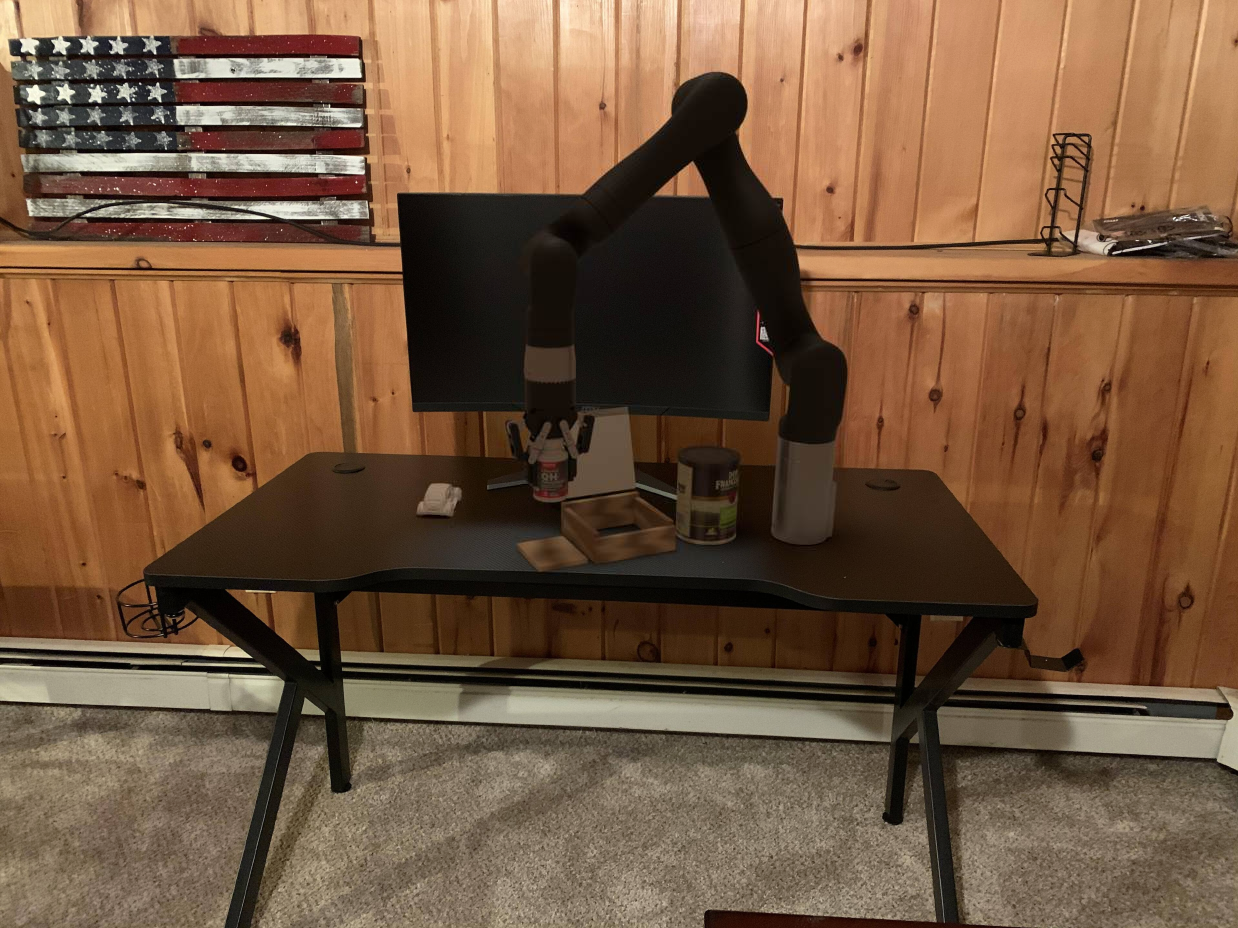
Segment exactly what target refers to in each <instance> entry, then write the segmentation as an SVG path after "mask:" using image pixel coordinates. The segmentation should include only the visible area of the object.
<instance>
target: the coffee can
mask: <svg viewBox="0 0 1238 928" xmlns="http://www.w3.org/2000/svg"><path fill="white" fill-rule="evenodd" d="M741 458H742V454H741V453H740V452H739V451H737V450H735V449H732V448H730V447H725V446H721V445H720V446H719V445H706V444H705V445H703V444H702V445H692V446H687V447H683V448H680V450H678V452H677V480H676V481H677V485H676V508H675V509H676V510H675V511H676V512H675V526H676V538H677V537H678V539H680V540H682V541H684V542H687V543H691V544H694V545H700V546H718V545H724V544H727V543H730V542H732V541H733V540H735V539H736V536H737V517H738V500H739V496H738V495H739V482H740V466H741V465H740V463H741Z"/></svg>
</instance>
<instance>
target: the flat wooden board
mask: <svg viewBox="0 0 1238 928" xmlns="http://www.w3.org/2000/svg"><path fill="white" fill-rule="evenodd" d="M515 547H516V550H518V551H519V552H520V554H521V555H522V556H523V557H524V558H525V559H526V560H527V561H528V562H529V563H530V564H531V565H532V566H533V567H534V568H535V569H536V571H537V572H539V573H541V572H542V573H543V572H546V571H551V570H552V571H553V570H557V569H558V570H559V569H563V568H568V567H575V566H579V565H584V564H585V565H586V564H588V561H589V559H588V557H587V556H586V555H585V554H584V553H583V552H582V551H581V550H580V549H578V548H577V547H576V546H575V545H574V544H573V543H572V542H571V541H570V540H568V539H567V538H566V537H565V536H564V535H558V536H554V537H547V538H542V539H536V540H531V541H523V542H518V543H516V546H515Z"/></svg>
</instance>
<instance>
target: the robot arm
mask: <svg viewBox="0 0 1238 928" xmlns="http://www.w3.org/2000/svg"><path fill="white" fill-rule="evenodd" d="M748 104H749V100H748V94H747V91H746V89H745V87H744V85H743V83H742V82H741V81H740V80H739V79H738V78H737V77H736V76H734V75H733V74H731V73H728V72H723V71H709V72H705V73H702V74H700V75H697V76H694V77H693V78H690V79H687V80H686V81H684V82H683V83H682V84H681V85H680V86H678V88H677V90H676V91H675V93H674V95H673V98H672V100H671V107H670V114H671V115H670V118H668V119H667V121H666V122H665V123H664V124H663V125H662V126H661V127H660V128H659V129H658V130H657V131H656V132H655V133H654V134H653V135H652V136H650V137H649V138H648V139H647V140H646V141H644V143H643V144H641V145H640V146H639V147H638V148H636V149H635V150H633V151H632V152H631V153H629V154H628V155H627V156H626V157H624V158H623V159H622V160H620V161H619V162H618V163H617V164H615V165H614V166H613V167H612V168H610V169H609V170H607V171H606V172H605V173H604V174H603V175H602V176H600V178H598V179H597V180H596V181H595V182H593V184H592V185H591V186H590V187H589V188H587V190H586V191H584V192H583V193H582V194H581V195H580V197H578V199H576V200H575V201H574V202H573V204H572V205H571V206H570V207H569V208H568V209H567V210H566V211H564V212H563V213H561V214H559V215H558V216H557V217H556V218H554V219H553V220H552V221H550V222H549V223H547V224H546V225H545V226H544V227H542V228H541V229H540V230H539V231H538V232H536V233H535V234H534V235H533V236H532V237H531V238H530V239H529V240H528V242H527V243H526V244H525V246H524V247H523V250H522V253H521V266H522V268H523V272H524V273H525V275H527V277H529V279H530V282H529V283H530V294H529V295H530V300H529V301H530V304H529V306H528V308H527V310H526V314H525V353H524V367H523V374H524V406H525V411H524V414H523V416H522V418H518V419H516V420H511V419H507V420H506V421H504V426H505V430H506V436H507V440H508V444H509V448H510V449H509V450H510V453H511V456H512V457H513V458H514V459H515V460H516V461H518V462H523V478H524V481H525V482H526V483H527V484H528V485H529V486H530V487H532V488H533V487H534V486H537V464H536V463H535V461H536V459H537V456H538V454H539V451H540V450H541V449H542V447H543V444H544V442H545V439H553V438H564V444H563V445H564V446H563V448H564V449H565V450H566V451H567V453H568V482H571V481H574V477H576V475H577V457H578V456H579V455H580V454H582V453H588V451H589V448H590V443H591V437H592V432H593V427H594V422H595V417H594V416H592V415H591V414H589V413H587V412H583V411H582V412H583V413H577V412H578V411H577V410H576V409H577V408H576V403H577V402H576V398H577V396H576V395H577V394H576V392H577V391H576V384H577V383H576V381H577V379H576V378H577V377H576V374H577V373H576V368H577V367H576V365H577V363H576V353H575V320H574V319H575V318H574V311H575V306H576V301H577V300H576V299H577V293H578V286H579V273H580V272H579V271H580V270H579V268H580V267H579V259H580V258H582V257H583V255H585V254H586V253H587V252H588V251H589V250H591V249H592V248H594V247H598V246H600V245H602V244H603V243H605V242H607V241H608V240H610V238H611V237H612V236H614V235H615V234H616V233H617V232H618V231H619V230H620V229H621V228H622V227H623V226H624V225H625V224H627V222H628V221H629V220H630V219H631V218H633V216H635V215H636V213H638V212H639V211H640V209H642V208H643V207H644V206H645V204H646V203H648V202H649V201H650V199H652V198H653V197H654V196H655V195H656V194H657V193H658V192H659V191H660V190H661V189H663V187H664V186H665V185H666V184H667V183H669V182H670V181H671V180H672V179H673V178H674V177H675V176H676V175H678V174H679V173H680V172H682V170H684V169H685V168H686V167H687V166H689V165H690V164H692V162H693V164H694V166H695V168H696V169H697V172H698V173H699V175H700V176H699V177H701V180H702V181H703V184H704V186H705V189H706V192H707V195H708V197H709V200H710V203H711V206H712V208H713V210H714V214H715V216H716V219H717V220H718V223H719V226H720V228H721V230H722V233H723V236H724V238H725V241H726V244H727V247H728V249H729V253H730V254H731V256H732V259H733V261H734V264H735V266H736V269H737V270H738V273H739V275H740V277H741V279H742V282H743V284H744V286H745V288H746V290H747V292H748V294H749V296H750V298H751V300H752V303H753V304H754V306H755V308H756V310H757V312H758V314H759V316H760V319H761V321H762V324H763V327H764V330H765V332H766V335H767V340H768V343H769V346H770V350H771V354H772V357H773V360H774V364H775V366H776V370H777V373H778V375H779V376H780V379H781V380H782V382H783V383H784V384H785V385H786V386H787V387H789V390H788V391H789V392H788V400H787V401H788V403H787V409H786V413H785V414H784V415H781V417H780V418H779V421H778V430H777V444H776V446H777V447H776V460H775V471H774V472H775V473H774V488H773V489H774V490H773V503H772V518H771V531H770V534H771V535H772V536H773V537H774V538H775V539H777V540H779V541H781V542H784V543H787V544H793V545H801V546H806V545H807V546H808V545H816V544H820V543H823V542H825V541H826V540H827V538H830V537H831V538H832V537H833V528H834V517H835V508H836V507H835V505H836V495H837V482H836V481H834V480H833V474H834V462H835V450H836V440H837V430H838V428H839V426H840V425H841V422H842V420H843V415H844V410H845V409H844V408H845V407H844V406H845V401H846V392H847V387H848V386H847V384H848V377H849V376H848V375H849V374H848V373H849V372H848V361H847V357H846V356H845V354H844V352H843V350H842V349H841V348H839V347H838V346H837V345H836V344H834V343H832V342H830V341H827V340H826V339H824V338H823V337H822V336H821V334H820V332H819V331H818V329H817V328H816V326H815V323H814V322H813V319H812V317H811V315H810V313H809V310H808V308H807V306H806V303H805V300H804V296H803V290H802V281H801V269H800V262H799V255H798V251H797V249H796V245H795V241H794V239H793V237H792V235H791V232H790V230H789V226H788V224H787V221H786V219H785V216H784V215H783V212H782V210H781V208H780V207H779V206H778V204H777V202H776V200H775V199H774V198H773V196H772V195H771V194H770V192H769V191H768V190H767V188H766V187H765V186H764V184H763V183H762V182H761V180H760V179H759V178H758V176H757V175H756V174H755V172H754V171H753V169H752V168H751V166H750V165H749V162H748V161H747V158H746V157H745V154H744V152H743V149H742V147H741V143H740V141H739V138H738V135H737V133H736V132H737V131H738V130H739V129H740V127H741V126H742V124H743V123H744V121H745V118H746V116H747V113H748V107H749V105H748ZM576 421H577V422H578V425H579V431H578V436H577V442H576V445H575V442H574V439H573V437H572V435H571V432H570V430H571V429H572V427H573V426H574V424H575V422H576ZM524 427H526V428H527V429H528V431H529V434H528V436H527V439H526V446H525V449H524V448H523V443H522V438H521V435H522V434H523V432H524V430H523V429H524Z"/></svg>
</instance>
